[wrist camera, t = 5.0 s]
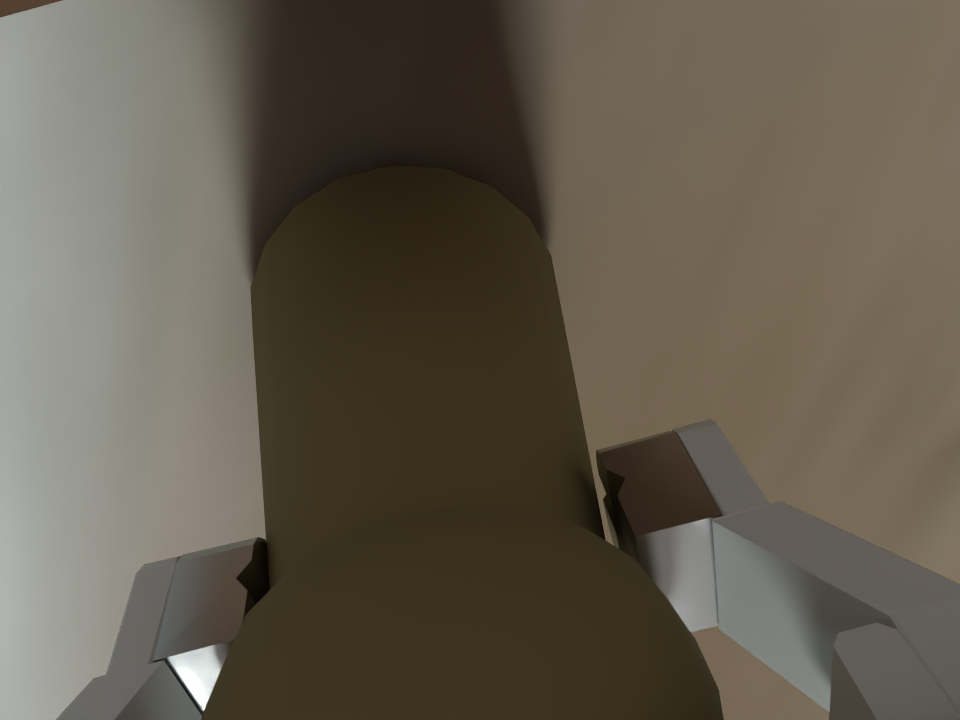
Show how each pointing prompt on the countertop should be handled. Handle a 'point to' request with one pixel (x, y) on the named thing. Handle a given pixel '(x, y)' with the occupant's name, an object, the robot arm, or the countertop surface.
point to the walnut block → (20, 5)
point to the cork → (435, 481)
